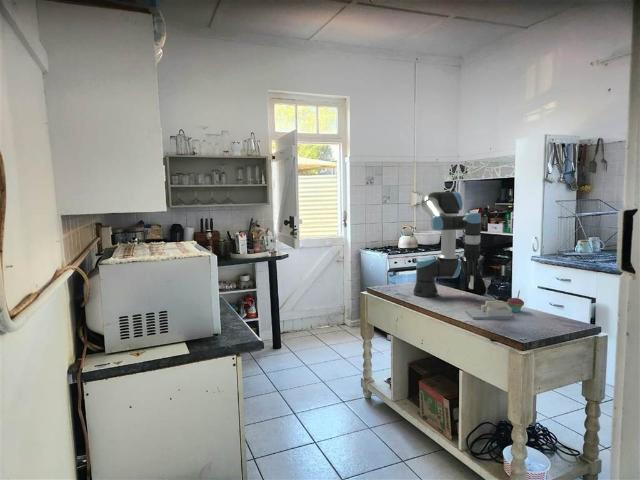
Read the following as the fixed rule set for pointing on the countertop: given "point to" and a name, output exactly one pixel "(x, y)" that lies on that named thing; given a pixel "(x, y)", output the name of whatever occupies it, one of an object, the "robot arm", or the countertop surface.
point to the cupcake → (515, 303)
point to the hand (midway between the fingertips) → (471, 288)
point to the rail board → (484, 315)
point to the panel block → (495, 305)
